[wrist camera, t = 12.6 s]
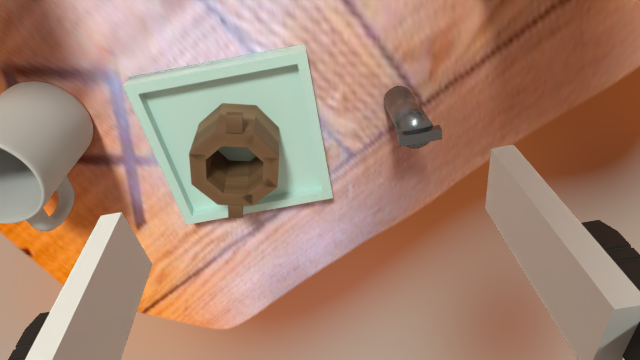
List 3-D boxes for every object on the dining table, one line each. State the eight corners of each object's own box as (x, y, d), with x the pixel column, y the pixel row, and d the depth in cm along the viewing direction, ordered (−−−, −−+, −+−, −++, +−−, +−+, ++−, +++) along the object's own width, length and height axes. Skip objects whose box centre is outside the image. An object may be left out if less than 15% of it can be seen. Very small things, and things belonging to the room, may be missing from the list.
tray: (129, 77, 40) (122, 85, 38) (304, 43, 40) (306, 50, 38) (189, 212, 50) (186, 224, 48) (330, 186, 49) (333, 198, 48)
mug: (-20, 89, 40) (-107, 148, 31) (68, 71, 39) (6, 125, 30) (49, 190, 46) (-6, 262, 37) (123, 175, 46) (86, 244, 37)
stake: (378, 89, 43) (398, 127, 36) (415, 82, 43) (441, 119, 36) (381, 115, 45) (399, 156, 38) (416, 109, 45) (441, 148, 38)
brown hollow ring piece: (196, 87, 40) (185, 114, 35) (280, 92, 41) (281, 119, 36) (202, 181, 46) (194, 216, 41) (275, 184, 47) (275, 218, 42)
